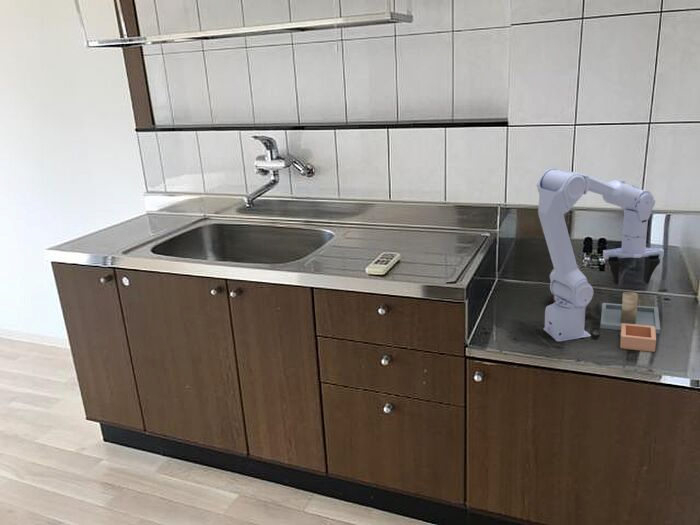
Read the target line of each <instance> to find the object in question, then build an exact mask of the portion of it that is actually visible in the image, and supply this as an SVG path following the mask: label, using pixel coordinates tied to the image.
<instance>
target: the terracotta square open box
mask: <svg viewBox="0 0 700 525" xmlns="http://www.w3.org/2000/svg"><path fill="white" fill-rule="evenodd" d="M656 346H657V334H656V332H655V326H647V325H636V324H626V323H622V324H621V330H620V346H619V347H620V349H625V350H634V351H643V352H650V353H651V352H653V353H655V352H656Z"/></svg>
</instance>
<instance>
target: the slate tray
mask: <svg viewBox="0 0 700 525" xmlns="http://www.w3.org/2000/svg"><path fill="white" fill-rule="evenodd" d="M601 304H602V305H601V317H600V327H599V328H600V329H603V330H604V329H605V330H613V331H614V330H615V331H621V324H622V322H621V312H622V303H621V304H620V303H611V302H610V303H609V302H602V303H601ZM659 314H660V312H659V307H657V306H648V305H647V306H646V305H637V312H636V323H635V324H636V325H647V326H655V332H656V335H661V322H660V315H659Z"/></svg>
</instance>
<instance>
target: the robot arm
mask: <svg viewBox="0 0 700 525" xmlns="http://www.w3.org/2000/svg"><path fill="white" fill-rule="evenodd" d="M536 188H537V192H538V194H539V197H538V198H539V199H538V206H537V207H538V208H537V213H538V218H539V222H540V225H541V229H542V233H543V235H544V238H545V241H546V242H545V243H546V245H547V246H546V247H547V249H548V252H549V256H550V259H551V263H552V266H553V269H554V271H553V272H552V271H551V272H552V273H551V272H550V274H549V280H550V279H551V280H550V283H549V289H550V292H551V294H552V296H553V295H555V296H554V299H555V300H556V302H555V303H551V304H549V305H547V306H546V307H545V310H544V327H543V330H544V331H545V332H546V333H547V334H548V335H549V336H551V338H553V339H554V340H555V341H556V342H563V341H565V342H566V341H570V340H577V339H581V338H587V337H591V336H592V335H591V334H590V332H588V331H586V330H585V320H586V307H587V306H588V305H589V303H590V302H591V301H592V299H593V297H594V289H593V286H592V285H591V284H590V283H589V282H588V278H587V277H586V275H584V273H583V272H582V271H581V270H579V269H578V267H577V266H578V264H577V260H576V256H575V252H574V249H573V245H572V241H571V238H570V234H569V231H568V226H567V223H566V219H565V216H564V215H565V214H566V213H569V212H570V210H571V209H572V208H573V207H574V206H575V204H576V203H578V201H579V200H580V199H581V197H582V196H583V195H587V193H588V192H591V193H593V194H597V195H601V196H602V199H603V200H604V202H605V203H607V204H610V205H614V206H616V207H619V208H621V209H622V210H623V223H622V233H621V234H622V236H621V247H618V248H612V249H604V250H602V257H603V259H604V260H606V261H607V263H608V265H609V267H610V271H611V274H612V282H613V283H614V285H619V276H620V275H619V274H620V267H621V262H620V259H626V258H628V259H629V258H630V259H631V258H632V259H633V258H634V259H637V258H638V259H639V258H644V271H643V282H644V283H645V284H648V285H649V283H650V280H651V278H652V276H653V273H654V272H655V270H656V269H657V267H658V266H659V265H660V263H661V258H664V254H665V250H664V249H663V248H662V247H661V248H659V247H647V234H648V233H647V232H648V225H649V224H648V222H649V219H650V217H651V213H652V210H653V209H654V207H655V204H656V199H655V198H654V196H653V193H652V192H650V191H649V190H644V189H639V186H637V185H635V184H631V185H629V184H627V183H626V180H623V179H619V178H618V179H617V180H611V181H609V182H606V181H604V180H602V179H599V178H596V177H594V176H592V175H589V174H584V173H580V172H575V171H568V170H564V169H563V170H562V169H561V170H558V169H556V168H549V169H546V170H545V171H544V172H543V173H541V176H540V178H539V179H538V182H537V184H536Z"/></svg>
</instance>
